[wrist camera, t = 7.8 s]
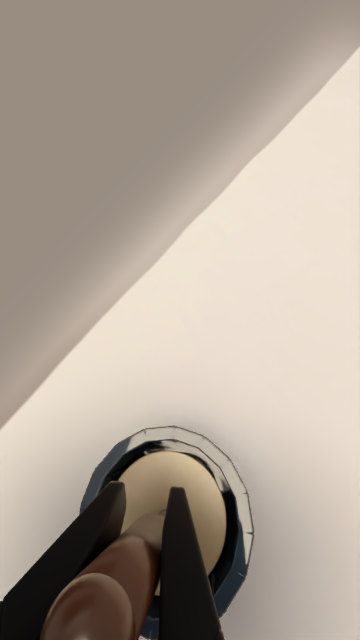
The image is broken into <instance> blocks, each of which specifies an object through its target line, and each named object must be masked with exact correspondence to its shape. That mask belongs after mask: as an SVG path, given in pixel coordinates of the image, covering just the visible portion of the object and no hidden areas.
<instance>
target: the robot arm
mask: <svg viewBox="0 0 360 640" xmlns="http://www.w3.org/2000/svg"><path fill="white" fill-rule="evenodd" d="M125 511H126V492H125V484H124V483H123V482H120V481H111V482H109V483H108V484H107V485H106V486H105V488H104V489H103V490H102V491H101V492H100V493H99V494H98V495H97V496H96V497H95V498H94V500H93V501H92V502H91V503H90V504H89V505H88V506H87V507H86V508H85V509H84V510H83V512H82V513H81V514H80V515H79V516H78V517H77V518H76V519H75V520H74V521H73V522H72V524H71V525H70V526H69V527H68V528H67V529H66V530H65V531H64V532H63V533H62V534H61V536H60V537H59V538H58V539H57V540H56V541H55V542H54V543H53V544H52V545H51V547H50V548H49V549H48V550H47V551H46V552H45V553H44V554H43V555H42V556H41V557H40V559H39V560H38V561H37V562H36V563H35V564H34V565H33V566H32V567H31V568H30V569H29V571H28V572H27V573H26V574H25V575H24V576H23V577H22V578H21V579H20V580H19V581H18V583H17V584H16V585H15V586H14V587H13V588H12V589H11V590H10V591H9V592H8V593H7V595H6V596H5V597H4V599H3V601H0V640H40V635H41V631H42V628H43V624H44V621H45V619H46V616H47V614H48V612H49V610H50V607H51V605H52V604H53V602H54V601H55V599H56V598H57V596H58V595H59V594H60V592H61V591H62V590H63V589H64V588H65V587H66V586H67V585H68V584H69V583H70V582H71V581H72V580H73V579H74V578H75V577H76V576H77V575H78V574H79V573H81V572H82V571H83V570H84V569H85V568H86V567H87V566H88V565H89V564H90V563H91V562H92V561H93V560H94V559H95V558H97V557H98V556H99V555H100V554H101V553H102V552H103V551H104V550H105V549H106V548H107V547H108V546H109V545H110V544H111V543H113V542H114V541H115V540H116V539H117V538H118V537H119V536H120V535H121V530H122V525H123V521H124V516H125ZM158 640H225V639H224V636H223V632H222V631H221V625H220V621H219V617H218V613H217V610H216V606H215V602H214V598H213V594H212V590H211V587H210V583H209V579H208V575H207V571H206V568H205V564H204V560H203V556H202V552H201V549H200V545H199V541H198V537H197V533H196V530H195V526H194V522H193V518H192V514H191V511H190V507H189V503H188V499H187V495H186V492H185V489H184V488H183V487H177V486H172V487H171V488H170V492H169V497H168V502H167V508H166V513H165V518H164V523H163V530H162V546H161V572H160V597H159V623H158Z"/></svg>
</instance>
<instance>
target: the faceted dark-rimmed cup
mask: <svg viewBox="0 0 360 640" xmlns="http://www.w3.org/2000/svg"><path fill="white" fill-rule="evenodd" d="M158 451H177V452H184V453H187V454H190V455H192V456H194V457H196V458H198V459H199V460H200V461H202V462H203V463H204V464H205V465H206V466H207V467H208V468H209V470H210V471H211V472H212V474H213V476H214V477H215V479H216V481H217V484H218V486H219V489H220V491H221V494H222V497H223V500H224V504H225V510H226V521H227V523H226V536H225V542H224V545H223V549H222V552H221V555H220V557H219V559H218V561H217V563H216V565H215V567H214V568H213V570H212V571H211V572H210V574H209V575H208V579H209V583H210V587H211V590H212V594H213V598H214V602H215V606H216V610H217V613H218V617H219V618H220V617H222V616H223V614H224V613H225V612H226V610H227V609H228V607H229V605H230V604H231V602H232V601H233V599H234V597H235V596H236V594H237V592H238V591H239V589H240V587H241V586H242V584H243V582H244V581H245V579H246V576H247V572H248V567H249V561H250V556H251V550H252V545H253V539H254V534H253V533H254V528H253V521H252V515H251V509H250V502H249V496H248V493H247V489H246V487H245V486H244V484H243V482H242V480H241V478H240V476H239V474H238V472H237V471H236V469H235V467H234V465H233V463H232V461H231V459H229V457H228V456H227V455H226V454H224V453H223V452H222V451H221V450H220V449H219V448H218V447H216V446H215V445H214V444H213V443H212V442H211V441H210V440H209V439H207V438H206V437H205V436H203V435H200V434H197V433H195V432H192V431H189V430H186V429H183V428H180V427H177V426H168V427H157V428H146V429H143V430H141V431H139V432H137V433H136V434H134V435H132V436H130V437H128V438H126V439H125V440H123V441H121V442H119V443H118V444H117V445H115V446H114V447H113V449H112V450H111V451H110V452H109V453H108V455H107V456H106V457H105V458H104V459H103V460H102V462H101V463H100V464H99V465H98V466H97V467H96V469H95V471H94V472H93V474H92V477H91V479H90V482H89V484H88V487H87V489H86V492H85V495H84V497H83V500H82V502H81V507H80V514H81V513H82V512H83V510H84V509H85V508H86V507H87V506H88V505H89V504H90V503H91V502H92V501H93V500H94V498H95V497H96V496H97V495H98V494H99V493H100V492H101V491H102V490H103V489H104V488H105V486H106V485H107V484H108V483H109V482H111V481H118V480H119V478H120V477H121V475H122V474H123V473H124V471H125V470H126V469H127V468H128V467H129V466H130V465H131V464H133V463H134V462H135V461H137V460H138V459H140V458H141V457H143V456H145V455H147V454H150V453H153V452H158ZM80 514H79V515H80ZM159 597H160V596H157V595H154V598H153V601H152V604H151V606H150V609H149V612H148V615H147V617H146V620H145V623H144V625H143V628H142V631H141V634H140V636H142V637H144V638H146V639H150V640H158V623H159Z"/></svg>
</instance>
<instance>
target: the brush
mask: <svg viewBox="0 0 360 640" xmlns="http://www.w3.org/2000/svg"><path fill="white" fill-rule="evenodd" d="M118 481H120V482H123V483H124V484H125V492H126V511H125V516H124V521H123V525H122V530H121V535H120V536H119V537H118V538H117V539H116V540H115V541H114V542H113V543H111V544H110V545H109V546H108V547H107V548H106V549H105V550H104V551H103V552H102V553H101V554H100V555H99V556H98V557H97V558H95V559H94V560H93V561H92V562H91V563H90V564H89V565H88V566H87V567H86V568H85V569H84V570H83V571H82V572H81V573H79V574H78V575H77V576H76V577H75V578H74V579H73V580H72V581H71V582H70V583H69V584H68V585H67V586H66V587H65V588H64V589H63V590H62V591H61V592H60V594H59V595H58V596H57V598H56V599H55V601H54V602H53V604H52V605H51V607H50V610H49V612H48V614H47V616H46V619H45V621H44V624H43V628H42V631H41V635H40V640H138V639H139V636H140V634H141V631H142V628H143V625H144V623H145V620H146V617H147V615H148V612H149V609H150V606H151V604H152V601H153V598H154V595H157V596H160V572H161V546H162V530H163V523H164V518H165V513H166V508H167V502H168V497H169V492H170V488H171V487H172V486H177V487H183V488H184V489H185V492H186V495H187V499H188V503H189V507H190V511H191V514H192V518H193V522H194V526H195V530H196V533H197V537H198V541H199V545H200V549H201V552H202V556H203V560H204V564H205V568H206V571H207V575H209V574H210V572H211V571H212V570H213V568H214V567H215V565H216V563H217V561H218V559H219V557H220V555H221V552H222V549H223V545H224V542H225V536H226V523H227V521H226V510H225V504H224V500H223V497H222V494H221V491H220V489H219V486H218V484H217V481H216V479H215V477H214V476H213V474H212V472H211V471H210V470H209V468H208V467H207V466H206V465H205V464H204V463H203V462H202V461H200V460H199V459H198V458H196V457H194V456H192V455H190V454H187V453H184V452H177V451H158V452H153V453H150V454H147V455H145V456H143V457H141V458H140V459H138V460H137V461H135V462H134V463H133V464H131V465H130V466H129V467H128V468H127V469H126V470H125V471H124V473H123V474H122V475H121V477H120V478H119V480H118Z"/></svg>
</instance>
